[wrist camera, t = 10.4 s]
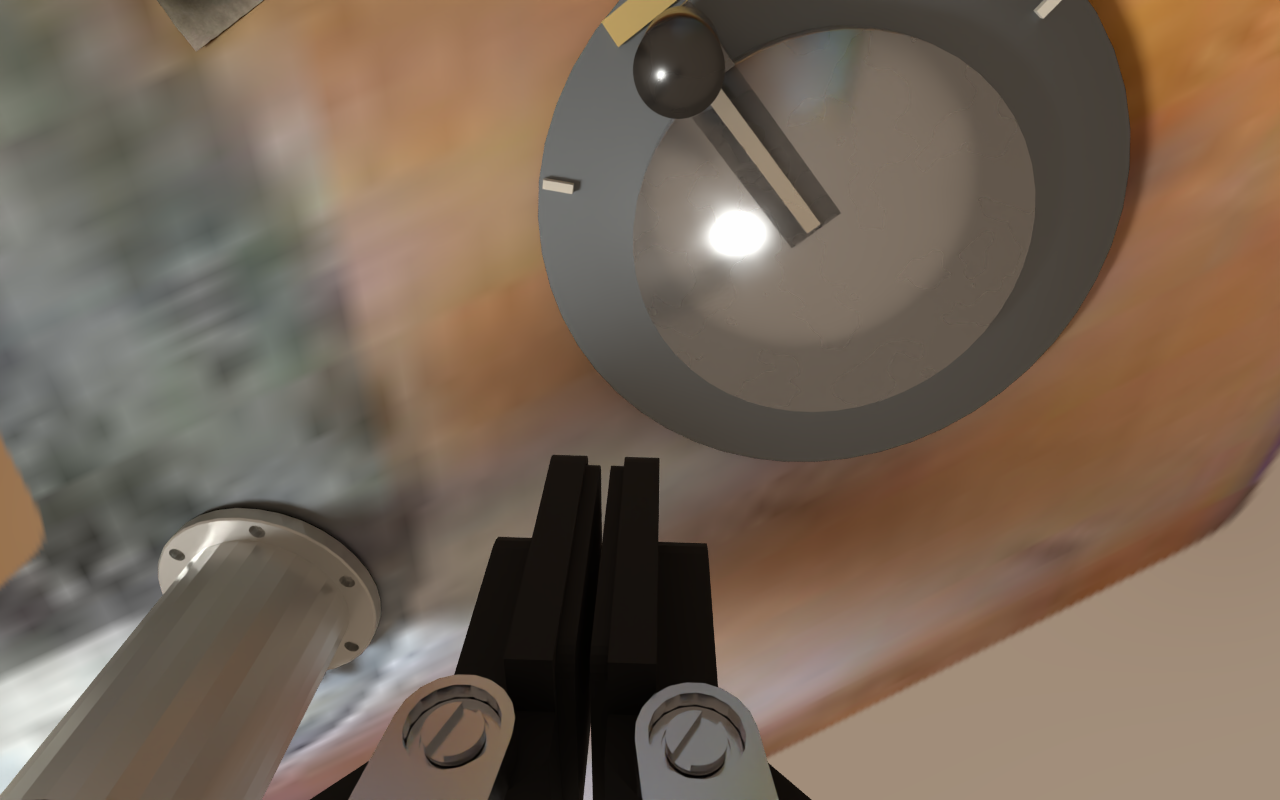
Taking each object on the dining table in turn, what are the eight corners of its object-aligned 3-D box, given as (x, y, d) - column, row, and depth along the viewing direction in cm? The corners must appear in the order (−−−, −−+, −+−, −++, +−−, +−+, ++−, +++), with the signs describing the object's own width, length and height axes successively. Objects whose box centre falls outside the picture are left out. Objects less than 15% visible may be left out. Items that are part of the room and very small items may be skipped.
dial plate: (976, 483, 37) (985, 500, 36) (522, 407, 37) (516, 422, 36) (1244, -44, 25) (1269, -43, 24) (574, -173, 25) (569, -179, 23)
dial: (1086, 260, 30) (1176, 332, 24) (775, 449, 35) (790, 542, 30) (843, -162, 23) (890, -194, 18) (509, 152, 29) (466, 202, 23)
